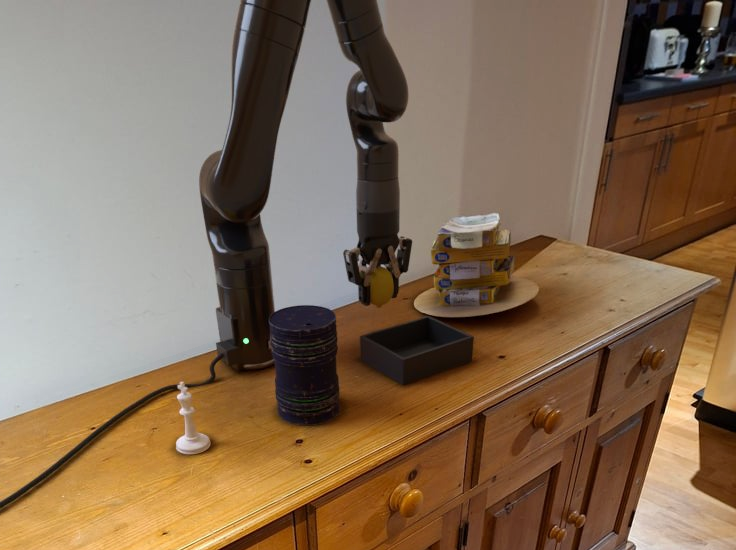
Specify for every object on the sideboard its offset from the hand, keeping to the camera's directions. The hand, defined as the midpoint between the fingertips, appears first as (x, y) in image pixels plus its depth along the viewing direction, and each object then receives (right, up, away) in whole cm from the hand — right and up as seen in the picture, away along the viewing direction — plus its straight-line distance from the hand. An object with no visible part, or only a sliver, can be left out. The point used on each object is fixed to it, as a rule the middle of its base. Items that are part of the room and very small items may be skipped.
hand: (378, 300), depth 132 cm
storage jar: (-12, -24, -22) cm, 35 cm away
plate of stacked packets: (+20, +3, +12) cm, 24 cm away
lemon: (0, -1, +1) cm, 2 cm away
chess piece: (-28, -30, -30) cm, 51 cm away
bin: (+6, -13, -9) cm, 17 cm away
